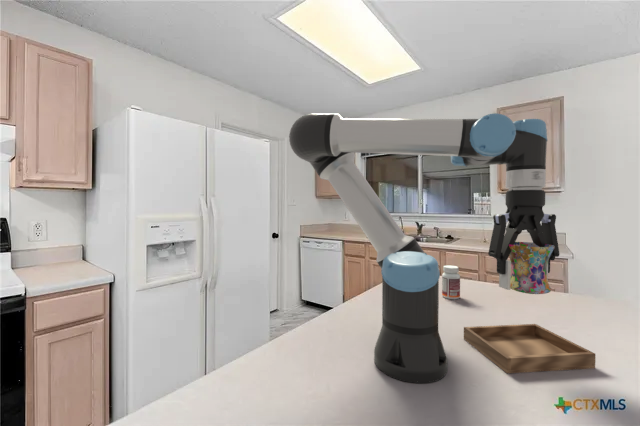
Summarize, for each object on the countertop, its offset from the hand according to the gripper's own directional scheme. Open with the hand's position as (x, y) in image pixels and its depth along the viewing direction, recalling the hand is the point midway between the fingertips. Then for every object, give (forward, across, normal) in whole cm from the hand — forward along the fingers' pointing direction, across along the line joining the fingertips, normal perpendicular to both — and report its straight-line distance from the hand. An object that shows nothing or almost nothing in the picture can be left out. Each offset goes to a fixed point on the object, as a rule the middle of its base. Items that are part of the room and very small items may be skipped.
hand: (522, 287), depth 69 cm
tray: (+15, 0, 0) cm, 15 cm away
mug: (+1, 0, 0) cm, 1 cm away
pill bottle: (+15, +5, +41) cm, 44 cm away
